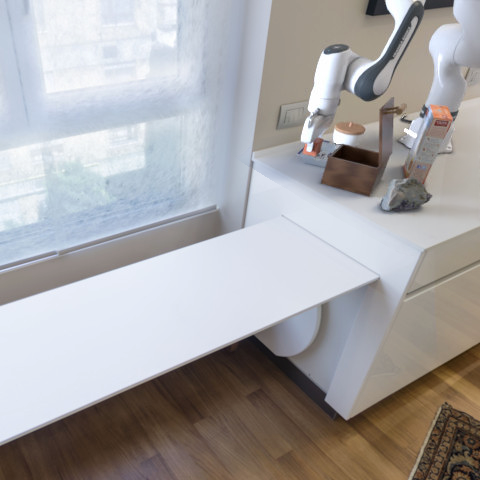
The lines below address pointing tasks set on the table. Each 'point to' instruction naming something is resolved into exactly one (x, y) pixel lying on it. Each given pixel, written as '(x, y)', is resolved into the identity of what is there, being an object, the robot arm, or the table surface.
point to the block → (316, 148)
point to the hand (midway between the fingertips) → (312, 148)
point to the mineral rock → (405, 195)
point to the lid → (387, 129)
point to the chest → (353, 169)
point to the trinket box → (348, 133)
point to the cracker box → (428, 142)
